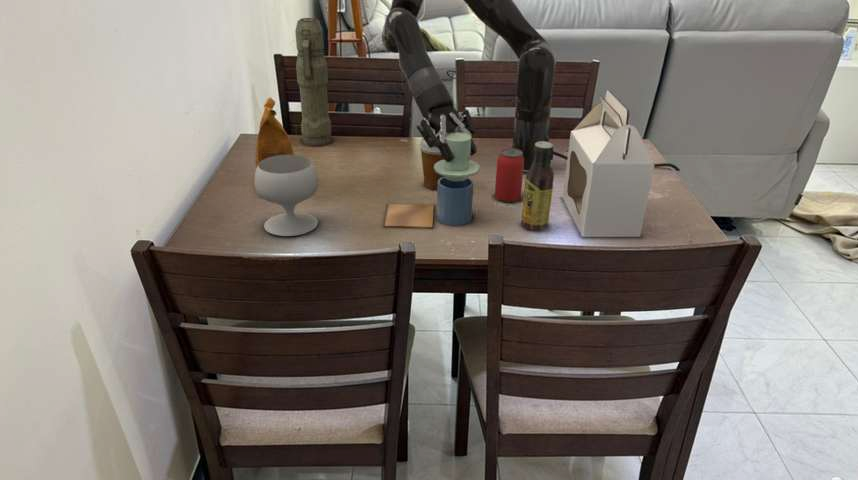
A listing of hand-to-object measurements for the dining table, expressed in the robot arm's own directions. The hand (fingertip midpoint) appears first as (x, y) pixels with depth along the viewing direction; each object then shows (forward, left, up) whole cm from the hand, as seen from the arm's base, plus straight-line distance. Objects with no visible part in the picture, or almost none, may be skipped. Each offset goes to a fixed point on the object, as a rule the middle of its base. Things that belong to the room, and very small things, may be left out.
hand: (462, 157), depth 150 cm
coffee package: (+47, -17, -16) cm, 52 cm away
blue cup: (+1, -1, -15) cm, 16 cm away
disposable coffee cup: (+6, -21, -16) cm, 27 cm away
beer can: (-12, -14, -16) cm, 24 cm away
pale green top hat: (+1, -1, -5) cm, 6 cm away
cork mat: (+12, -1, -15) cm, 20 cm away
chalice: (+39, +5, -16) cm, 42 cm away
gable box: (-33, -4, -16) cm, 37 cm away
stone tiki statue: (+43, -53, -16) cm, 70 cm away
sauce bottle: (-17, +2, -16) cm, 23 cm away
